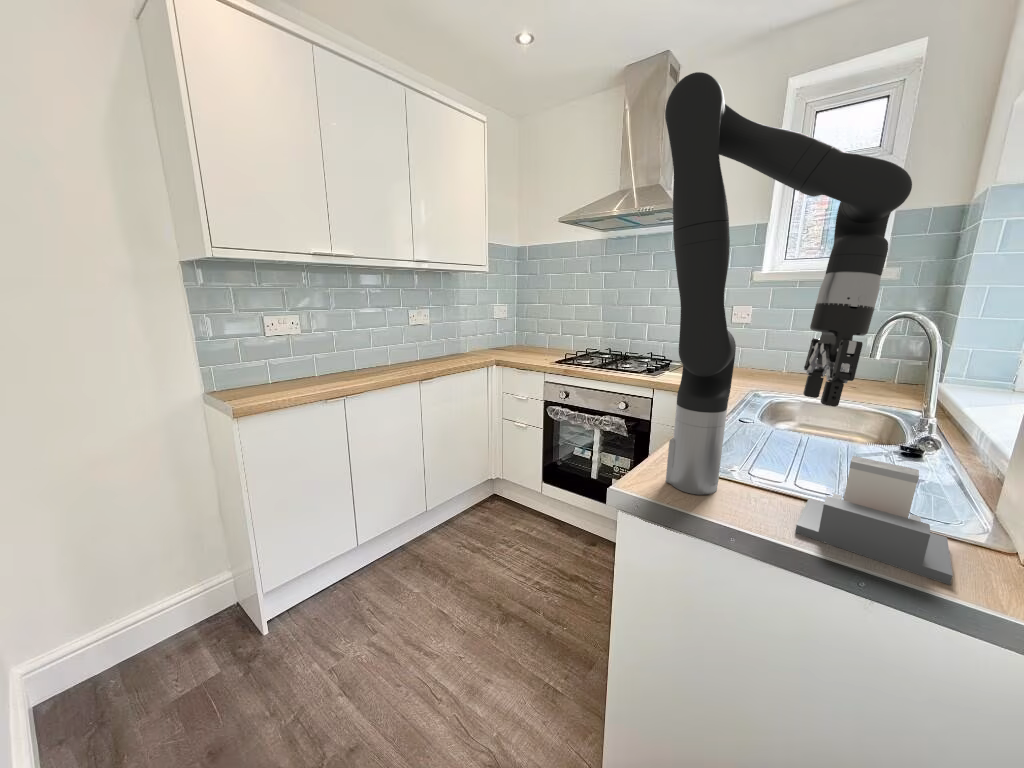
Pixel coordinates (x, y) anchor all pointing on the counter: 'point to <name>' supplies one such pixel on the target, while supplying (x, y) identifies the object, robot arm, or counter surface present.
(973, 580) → the counter surface
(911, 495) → the light grey upright block
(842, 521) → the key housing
